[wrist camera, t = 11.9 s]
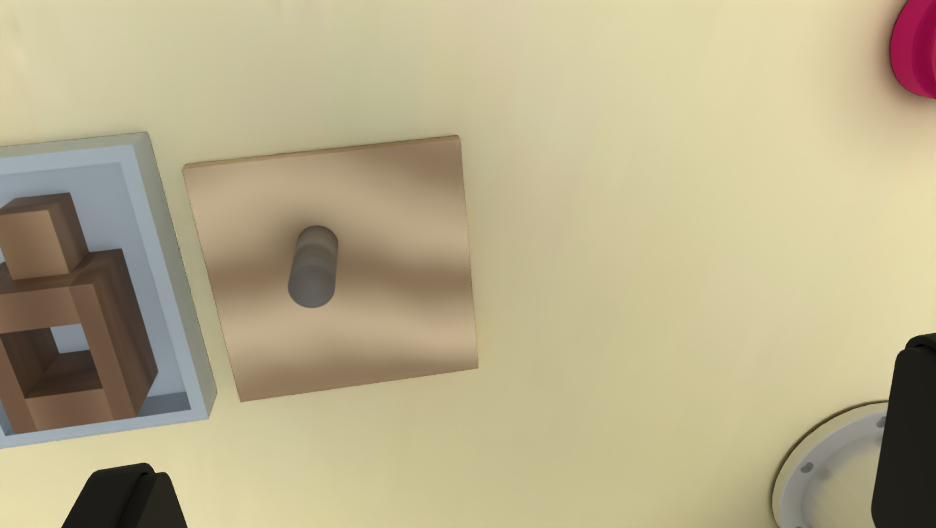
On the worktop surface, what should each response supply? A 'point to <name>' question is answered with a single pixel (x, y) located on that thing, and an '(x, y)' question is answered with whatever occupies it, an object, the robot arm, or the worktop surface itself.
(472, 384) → the worktop surface
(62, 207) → the collar
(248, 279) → the stake board
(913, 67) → the pepper mill
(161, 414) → the tray
